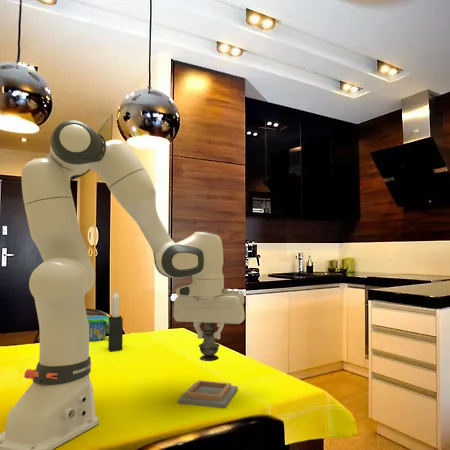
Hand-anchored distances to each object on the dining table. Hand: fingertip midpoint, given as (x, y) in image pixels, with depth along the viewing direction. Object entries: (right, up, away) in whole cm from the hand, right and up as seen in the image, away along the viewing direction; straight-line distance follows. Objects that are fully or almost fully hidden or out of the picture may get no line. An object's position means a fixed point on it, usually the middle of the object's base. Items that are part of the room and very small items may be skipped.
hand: (208, 338), depth 104 cm
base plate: (0, -16, -1) cm, 16 cm away
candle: (-41, -20, +49) cm, 67 cm away
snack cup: (-55, -21, +67) cm, 89 cm away
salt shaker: (0, -6, 0) cm, 6 cm away
